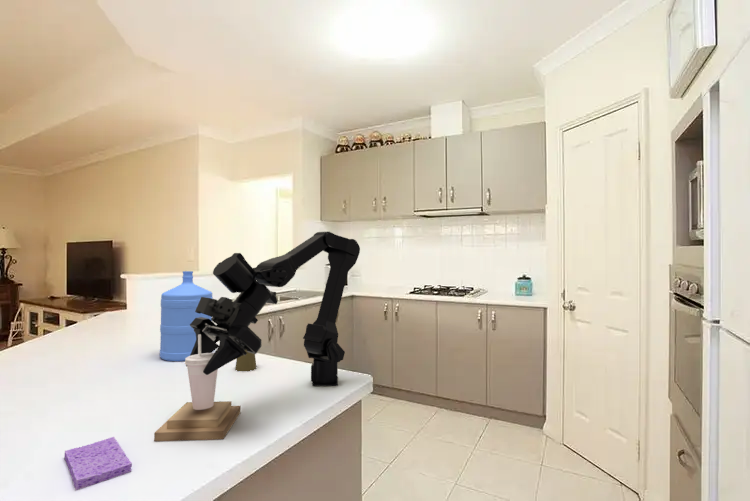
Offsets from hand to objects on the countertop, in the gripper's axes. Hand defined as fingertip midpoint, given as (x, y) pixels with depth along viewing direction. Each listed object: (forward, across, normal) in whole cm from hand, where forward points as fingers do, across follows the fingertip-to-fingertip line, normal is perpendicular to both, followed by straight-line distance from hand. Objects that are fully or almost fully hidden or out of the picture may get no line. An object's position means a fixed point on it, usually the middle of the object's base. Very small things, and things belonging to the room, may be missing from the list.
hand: (196, 370), depth 75 cm
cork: (-12, -27, +29) cm, 41 cm away
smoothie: (+4, 0, +6) cm, 8 cm away
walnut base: (+7, 0, +9) cm, 11 cm away
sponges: (+20, +1, -3) cm, 20 cm away
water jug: (-9, -56, +26) cm, 62 cm away
